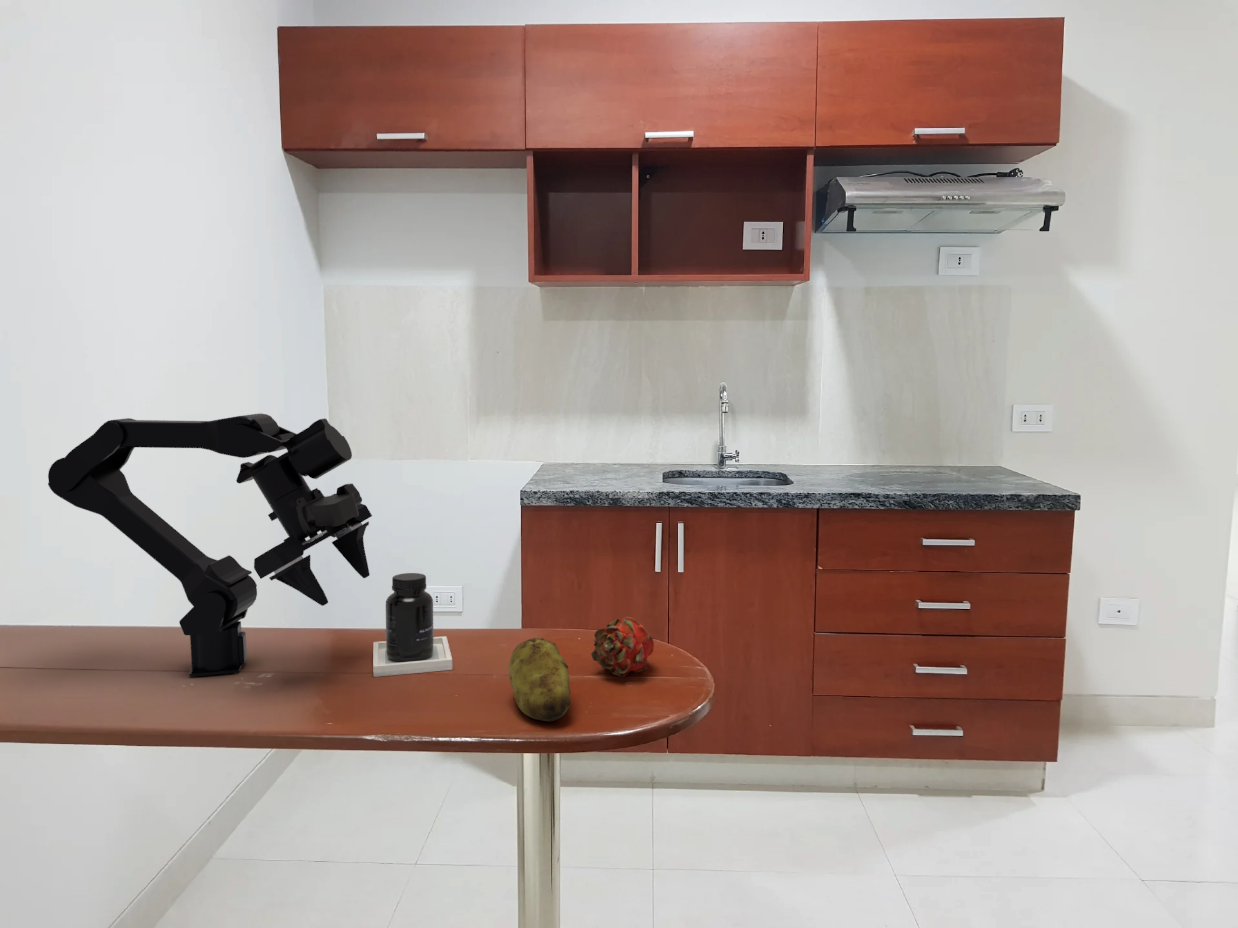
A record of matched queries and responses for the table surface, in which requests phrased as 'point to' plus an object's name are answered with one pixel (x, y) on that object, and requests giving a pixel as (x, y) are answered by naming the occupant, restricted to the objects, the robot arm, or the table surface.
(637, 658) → the dragon fruit
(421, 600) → the supplement bottle
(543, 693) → the potato
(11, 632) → the table surface
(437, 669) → the cream ceramic dish
